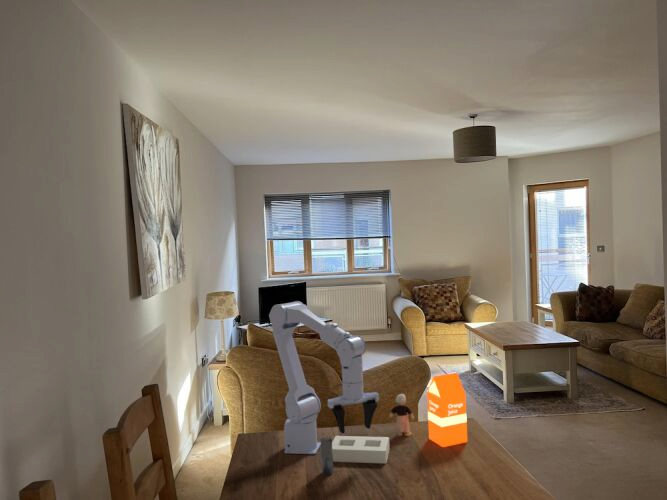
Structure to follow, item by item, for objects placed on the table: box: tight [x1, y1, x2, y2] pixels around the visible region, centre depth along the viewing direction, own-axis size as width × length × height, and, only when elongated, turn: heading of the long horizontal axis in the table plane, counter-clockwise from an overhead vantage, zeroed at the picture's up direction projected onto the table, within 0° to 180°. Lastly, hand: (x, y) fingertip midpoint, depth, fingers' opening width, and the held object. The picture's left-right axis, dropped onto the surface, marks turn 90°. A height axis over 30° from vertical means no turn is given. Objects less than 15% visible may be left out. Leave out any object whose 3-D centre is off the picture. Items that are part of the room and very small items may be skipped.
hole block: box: [332, 435, 390, 464], centre depth 151 cm, size 16×10×4 cm, turn 79°
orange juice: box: [426, 372, 468, 448], centre depth 159 cm, size 8×9×20 cm
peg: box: [320, 436, 334, 476], centre depth 141 cm, size 3×3×9 cm
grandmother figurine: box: [389, 393, 415, 437], centre depth 165 cm, size 8×4×13 cm, turn 84°
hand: (354, 429), depth 145 cm, fingers open, 7 cm apart
